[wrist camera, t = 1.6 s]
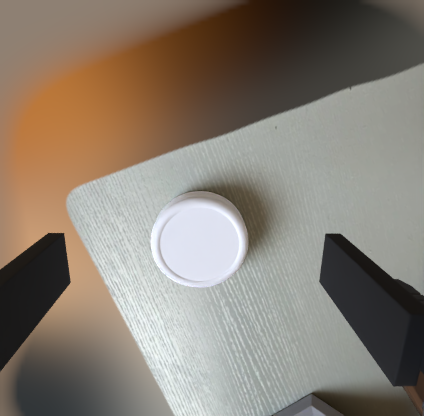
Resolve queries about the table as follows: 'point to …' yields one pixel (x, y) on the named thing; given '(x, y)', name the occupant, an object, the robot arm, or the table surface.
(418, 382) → the holder
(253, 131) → the table surface
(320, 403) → the shield
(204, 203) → the coaster
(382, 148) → the table surface
